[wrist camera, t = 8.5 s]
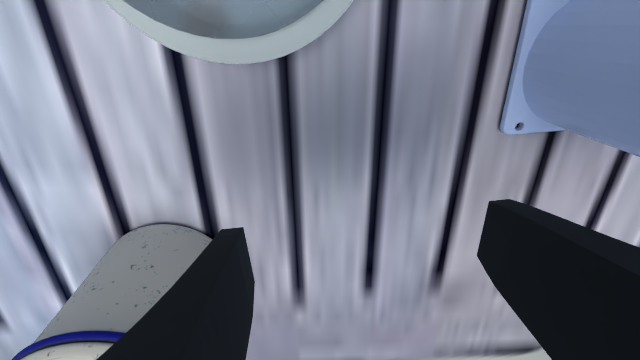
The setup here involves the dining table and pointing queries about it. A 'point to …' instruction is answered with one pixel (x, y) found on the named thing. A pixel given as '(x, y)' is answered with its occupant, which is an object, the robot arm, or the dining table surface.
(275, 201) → the dining table surface
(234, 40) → the pot
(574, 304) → the robot arm
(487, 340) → the dining table surface
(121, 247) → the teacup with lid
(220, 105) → the dining table surface
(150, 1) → the lid
